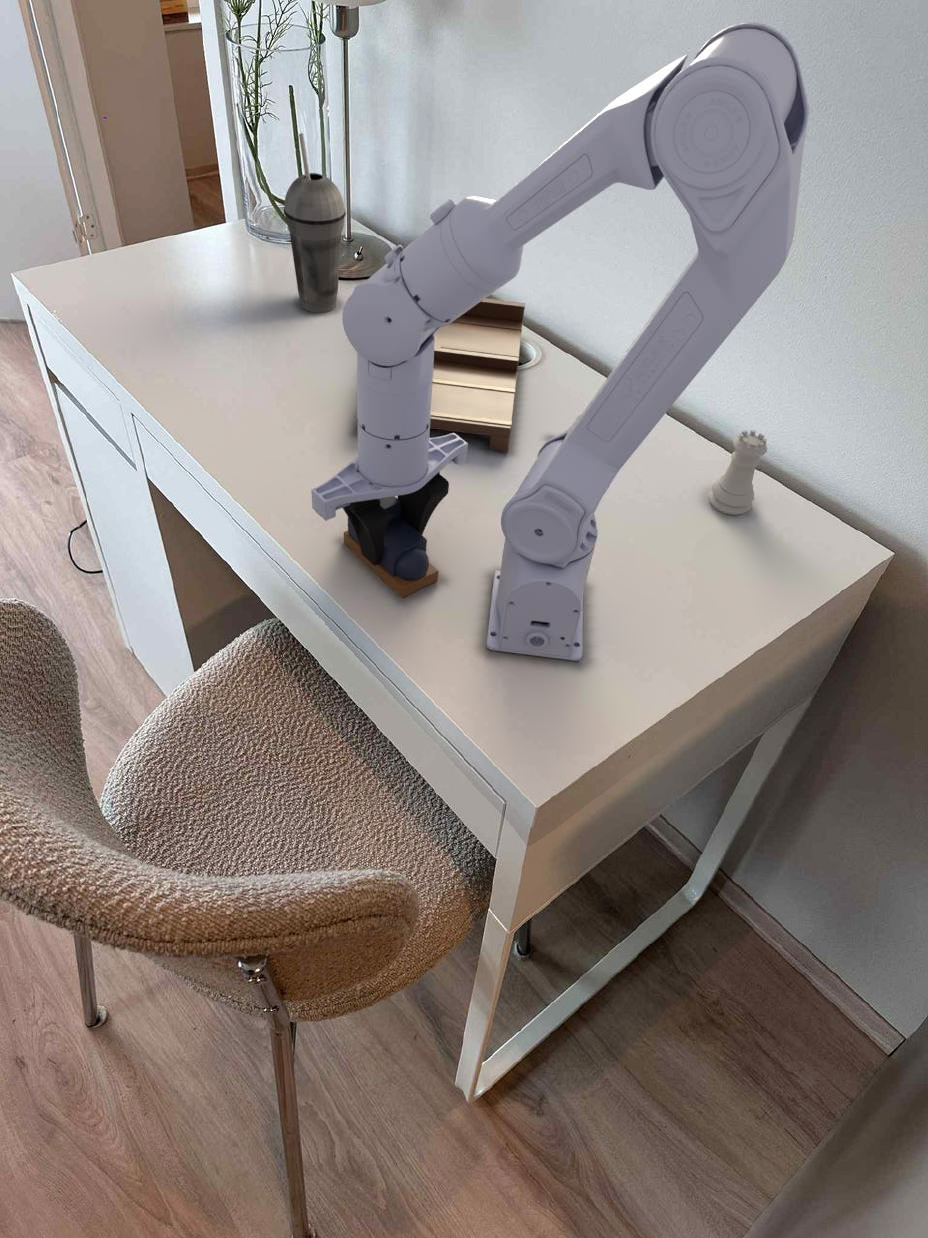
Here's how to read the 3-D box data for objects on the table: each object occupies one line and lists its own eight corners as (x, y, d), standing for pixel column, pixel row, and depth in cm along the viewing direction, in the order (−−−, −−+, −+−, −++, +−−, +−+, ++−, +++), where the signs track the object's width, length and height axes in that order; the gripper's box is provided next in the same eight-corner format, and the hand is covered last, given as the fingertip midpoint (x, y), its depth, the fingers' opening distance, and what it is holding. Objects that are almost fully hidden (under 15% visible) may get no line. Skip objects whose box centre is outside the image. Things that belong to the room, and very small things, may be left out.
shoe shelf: (507, 452, 93) (513, 411, 90) (357, 433, 94) (357, 392, 90) (520, 340, 110) (525, 302, 107) (392, 325, 110) (393, 286, 107)
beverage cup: (354, 314, 111) (352, 143, 97) (297, 320, 109) (287, 146, 95) (338, 288, 116) (334, 120, 102) (283, 293, 114) (271, 123, 99)
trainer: (438, 581, 79) (442, 535, 75) (402, 599, 77) (404, 552, 73) (379, 526, 84) (379, 480, 80) (343, 541, 82) (342, 495, 78)
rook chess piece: (698, 493, 91) (721, 427, 85) (735, 486, 92) (759, 421, 87) (722, 520, 88) (746, 454, 83) (759, 513, 90) (786, 447, 84)
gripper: (435, 370, 75) (427, 497, 85) (286, 423, 68) (296, 554, 78) (489, 410, 72) (474, 537, 81) (338, 469, 65) (341, 601, 74)
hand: (390, 549), depth 79 cm, fingers closed on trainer, 3 cm apart
